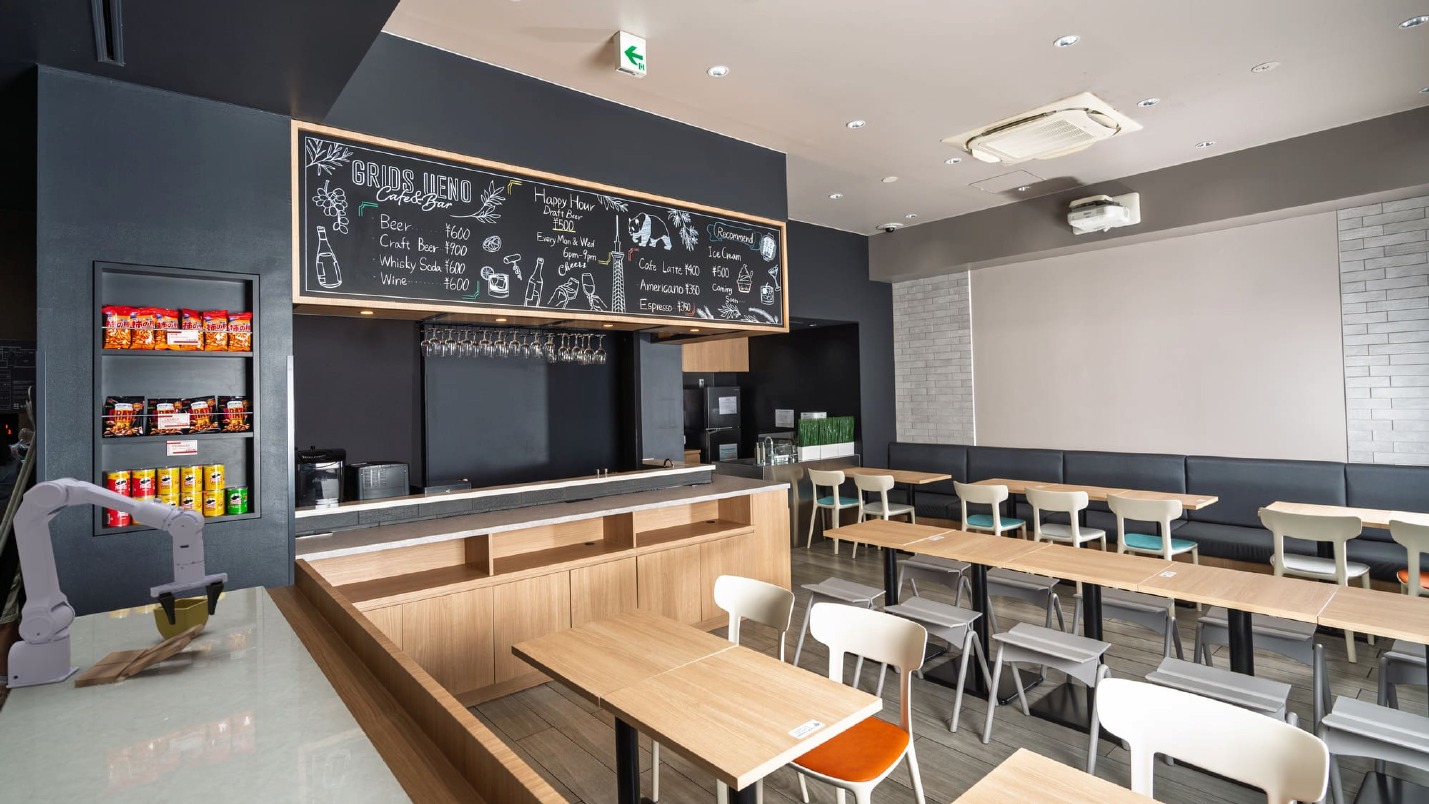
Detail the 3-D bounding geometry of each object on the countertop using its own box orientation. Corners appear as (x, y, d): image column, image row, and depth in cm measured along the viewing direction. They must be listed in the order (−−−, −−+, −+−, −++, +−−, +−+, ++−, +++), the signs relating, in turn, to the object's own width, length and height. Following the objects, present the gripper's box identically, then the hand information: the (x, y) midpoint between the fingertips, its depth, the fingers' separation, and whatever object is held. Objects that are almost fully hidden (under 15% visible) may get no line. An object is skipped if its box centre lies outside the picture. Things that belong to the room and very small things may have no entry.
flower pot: (186, 643, 173) (186, 608, 173) (152, 643, 173) (152, 608, 173) (212, 632, 181) (212, 598, 181) (180, 632, 182) (180, 598, 182)
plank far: (141, 663, 159) (138, 657, 159) (151, 654, 165) (148, 649, 165) (196, 635, 163) (193, 630, 163) (204, 628, 169) (201, 622, 169)
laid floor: (74, 687, 146) (74, 680, 146) (111, 658, 163) (111, 652, 163) (122, 681, 149) (122, 674, 149) (153, 653, 166) (153, 647, 166)
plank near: (124, 679, 150) (120, 673, 150) (135, 669, 156) (131, 663, 155) (182, 649, 154) (179, 644, 154) (191, 641, 160) (187, 635, 159)
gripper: (156, 571, 153) (159, 631, 154) (231, 557, 165) (234, 613, 165) (146, 567, 158) (149, 626, 158) (220, 554, 169) (223, 608, 169)
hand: (192, 619), depth 162 cm, fingers open, 7 cm apart
